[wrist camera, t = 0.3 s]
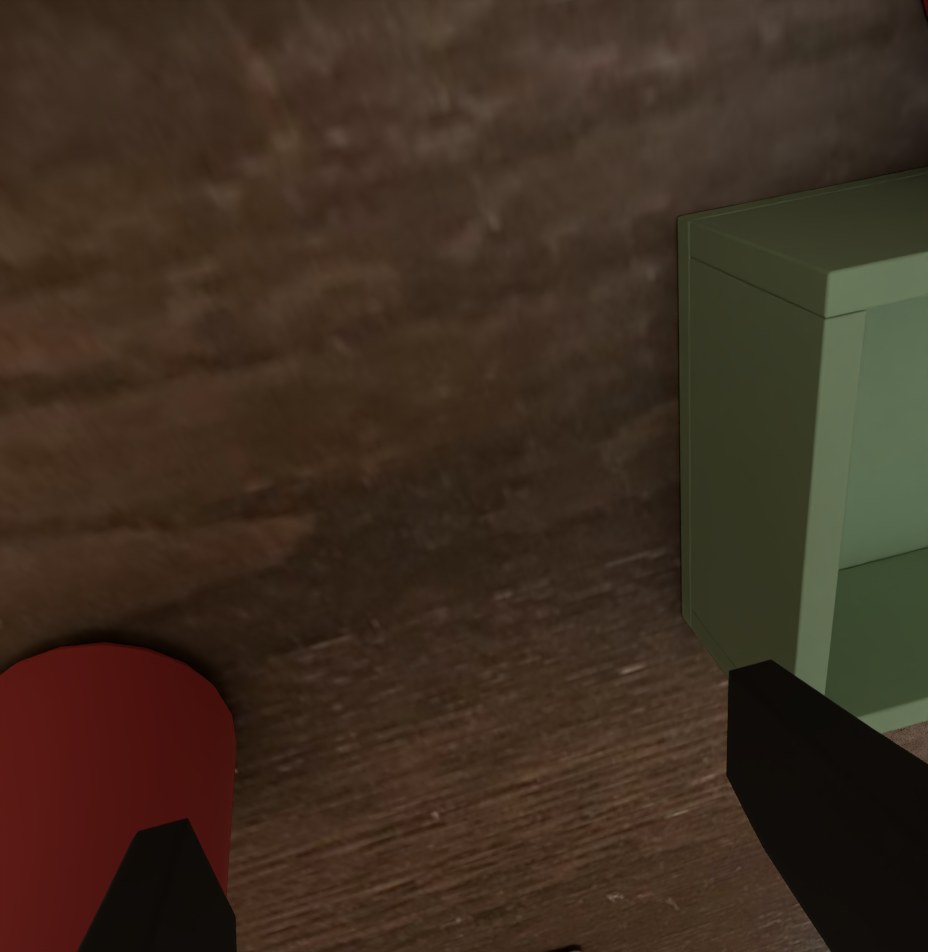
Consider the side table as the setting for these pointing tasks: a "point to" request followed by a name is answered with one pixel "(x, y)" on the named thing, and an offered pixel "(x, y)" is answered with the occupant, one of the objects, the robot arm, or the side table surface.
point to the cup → (926, 6)
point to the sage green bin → (810, 439)
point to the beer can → (101, 779)
